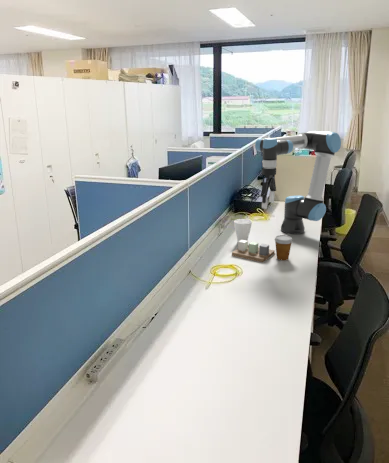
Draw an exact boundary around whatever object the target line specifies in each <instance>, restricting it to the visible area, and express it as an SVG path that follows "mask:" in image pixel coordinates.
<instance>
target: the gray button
mask: <svg viewBox="0 0 389 463" xmlns="http://www.w3.org/2000/svg"><path fill="white" fill-rule="evenodd" d="M258 247H259V254H260V255H264V256H266V255H268V254H269V249H270V245H269V244H265V243H261V244H260V245H258Z"/></svg>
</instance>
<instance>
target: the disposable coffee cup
mask: <svg viewBox="0 0 389 463" xmlns="http://www.w3.org/2000/svg"><path fill="white" fill-rule="evenodd" d="M274 242H275V252H276V259H277V260H279V261H288V260H289V257H290V254H291V248H292V243H293V238H292V236H289V235H286V234H280V235H276V236H275V237H274Z"/></svg>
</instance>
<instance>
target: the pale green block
mask: <svg viewBox="0 0 389 463" xmlns="http://www.w3.org/2000/svg"><path fill="white" fill-rule="evenodd" d="M248 245H249V252H250V253H255V254H256V253H257V252H258V247H259V242H255V241H251V242H248Z"/></svg>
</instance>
